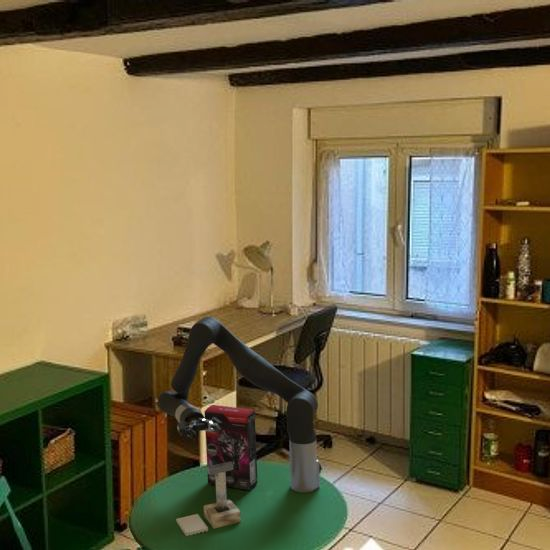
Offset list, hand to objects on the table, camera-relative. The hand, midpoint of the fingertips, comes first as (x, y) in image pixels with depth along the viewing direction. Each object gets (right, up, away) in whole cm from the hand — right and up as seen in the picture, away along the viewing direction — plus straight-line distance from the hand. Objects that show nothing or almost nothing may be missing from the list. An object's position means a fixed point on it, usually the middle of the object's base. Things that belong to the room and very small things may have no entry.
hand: (208, 434), depth 232 cm
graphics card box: (+7, -22, +19) cm, 29 cm away
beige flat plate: (-4, -26, -10) cm, 28 cm away
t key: (+5, -25, -6) cm, 26 cm away
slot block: (+5, -25, -6) cm, 26 cm away
